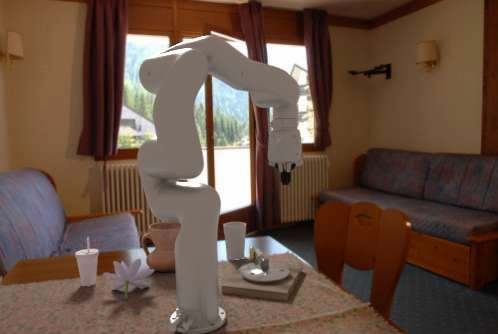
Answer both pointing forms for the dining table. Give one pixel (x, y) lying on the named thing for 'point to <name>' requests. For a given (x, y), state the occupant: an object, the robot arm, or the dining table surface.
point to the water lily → (129, 275)
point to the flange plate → (264, 271)
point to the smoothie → (87, 265)
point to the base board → (263, 285)
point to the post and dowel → (263, 261)
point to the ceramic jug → (161, 246)
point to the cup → (235, 239)
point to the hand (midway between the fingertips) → (285, 184)
